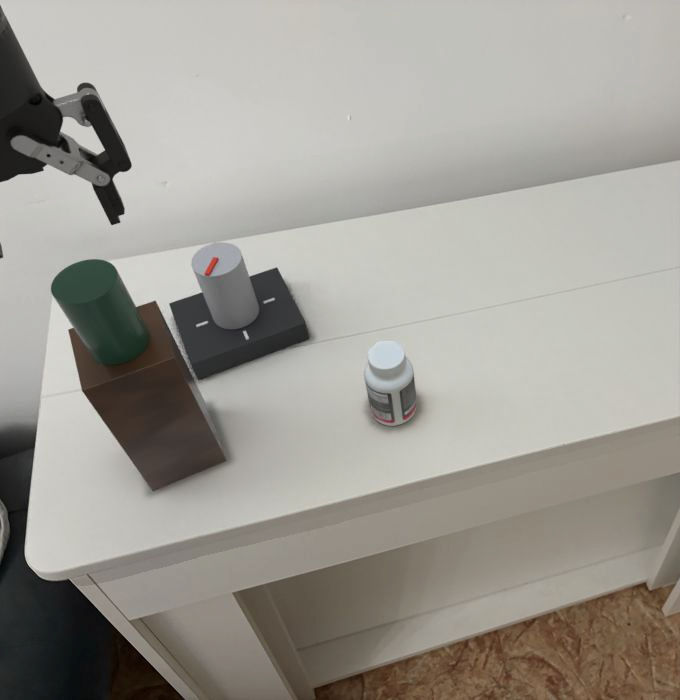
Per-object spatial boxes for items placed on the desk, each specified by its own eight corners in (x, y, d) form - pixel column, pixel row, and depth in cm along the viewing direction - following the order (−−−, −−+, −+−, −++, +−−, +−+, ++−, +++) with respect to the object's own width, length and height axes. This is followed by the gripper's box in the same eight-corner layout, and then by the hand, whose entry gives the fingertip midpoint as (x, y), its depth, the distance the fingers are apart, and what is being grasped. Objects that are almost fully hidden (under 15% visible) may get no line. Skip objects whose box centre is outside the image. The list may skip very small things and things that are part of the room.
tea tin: (95, 373, 62) (55, 312, 56) (86, 334, 65) (46, 271, 59) (155, 352, 64) (122, 290, 58) (143, 314, 67) (111, 251, 61)
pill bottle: (407, 383, 84) (401, 328, 77) (424, 417, 81) (419, 364, 73) (363, 398, 83) (353, 344, 75) (379, 433, 80) (370, 381, 72)
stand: (152, 491, 75) (81, 391, 61) (137, 434, 79) (67, 329, 66) (227, 460, 77) (175, 357, 63) (207, 407, 82) (155, 300, 68)
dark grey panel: (198, 380, 84) (190, 363, 82) (176, 319, 91) (168, 302, 88) (309, 338, 89) (305, 321, 86) (281, 283, 95) (276, 266, 92)
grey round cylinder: (222, 293, 89) (201, 237, 82) (265, 298, 89) (248, 242, 82) (205, 326, 86) (182, 271, 79) (250, 332, 85) (230, 276, 78)
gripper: (54, -22, 46) (141, 182, 59) (-200, 27, 42) (-48, 235, 54) (72, 28, 42) (161, 235, 55) (-209, 87, 38) (-42, 297, 50)
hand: (57, 235), depth 54 cm, fingers open, 8 cm apart
